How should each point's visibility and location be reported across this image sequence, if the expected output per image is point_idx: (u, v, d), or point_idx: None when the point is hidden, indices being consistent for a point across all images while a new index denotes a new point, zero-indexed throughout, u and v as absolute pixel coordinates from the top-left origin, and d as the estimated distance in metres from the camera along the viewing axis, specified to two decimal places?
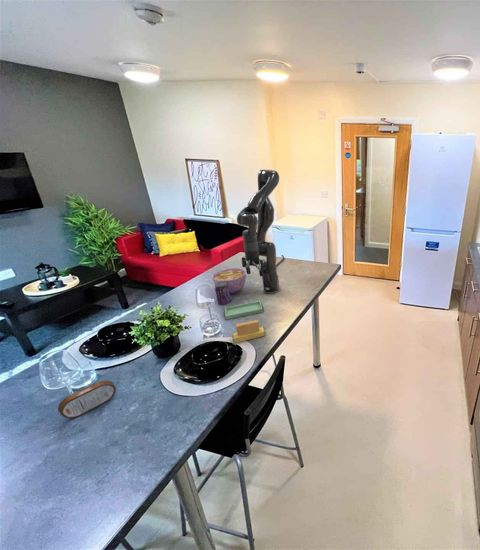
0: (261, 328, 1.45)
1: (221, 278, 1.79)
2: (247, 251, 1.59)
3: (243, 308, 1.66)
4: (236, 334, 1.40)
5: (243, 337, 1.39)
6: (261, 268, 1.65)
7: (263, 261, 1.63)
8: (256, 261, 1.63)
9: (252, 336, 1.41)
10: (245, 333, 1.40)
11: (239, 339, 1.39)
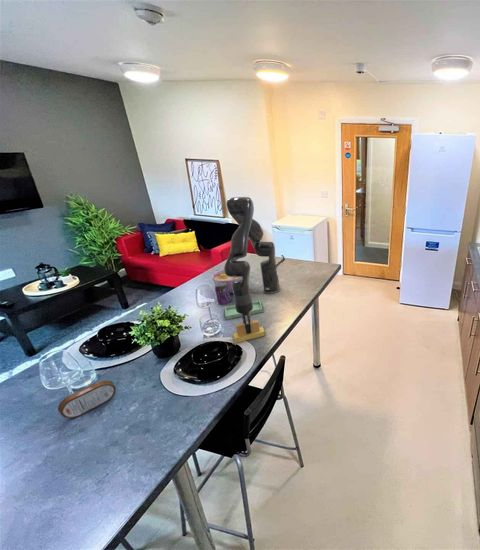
0: (261, 328, 1.45)
1: (221, 278, 1.79)
2: None
3: None
4: (236, 334, 1.40)
5: (243, 337, 1.39)
6: None
7: (247, 323, 1.33)
8: (243, 318, 1.35)
9: (252, 336, 1.41)
10: (245, 333, 1.40)
11: (239, 339, 1.39)
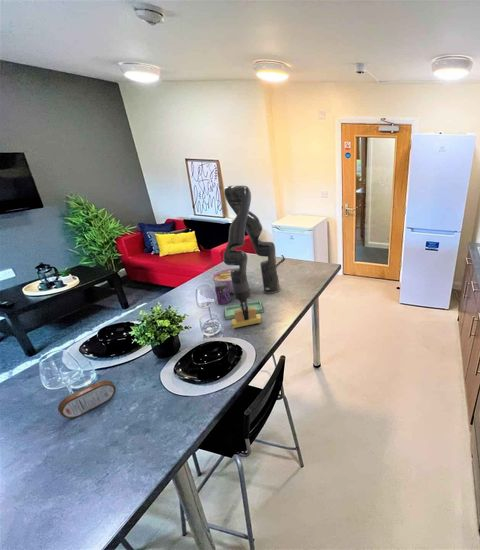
0: (258, 315, 1.54)
1: (221, 278, 1.79)
2: (233, 290, 1.42)
3: None
4: (234, 320, 1.49)
5: (241, 323, 1.48)
6: None
7: (245, 309, 1.42)
8: (241, 305, 1.44)
9: (249, 322, 1.50)
10: (243, 319, 1.49)
11: (237, 325, 1.48)
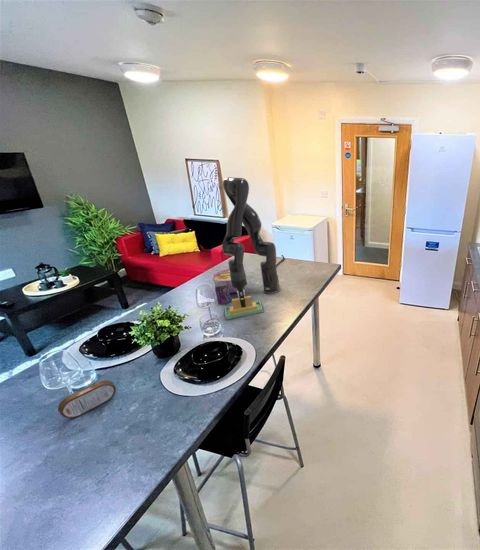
0: (254, 303, 1.66)
1: (221, 278, 1.79)
2: None
3: None
4: (232, 308, 1.61)
5: (238, 310, 1.60)
6: (241, 300, 1.56)
7: (241, 294, 1.53)
8: (238, 291, 1.56)
9: (246, 310, 1.62)
10: (240, 307, 1.61)
11: (235, 312, 1.60)
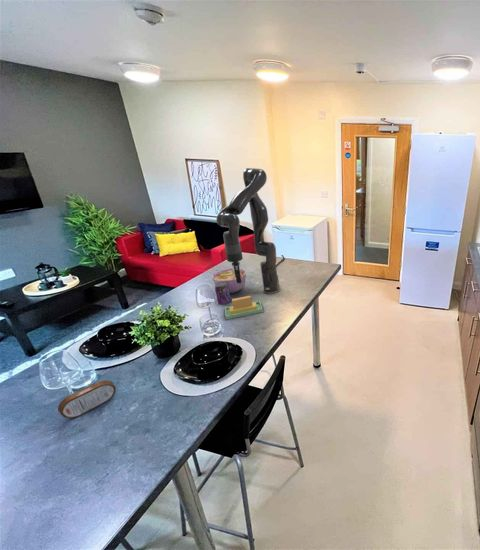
0: (254, 303, 1.66)
1: (221, 278, 1.79)
2: None
3: None
4: (232, 308, 1.61)
5: (238, 310, 1.60)
6: (236, 274, 1.49)
7: (236, 268, 1.47)
8: (233, 266, 1.49)
9: (246, 310, 1.62)
10: (240, 307, 1.61)
11: (235, 312, 1.60)
